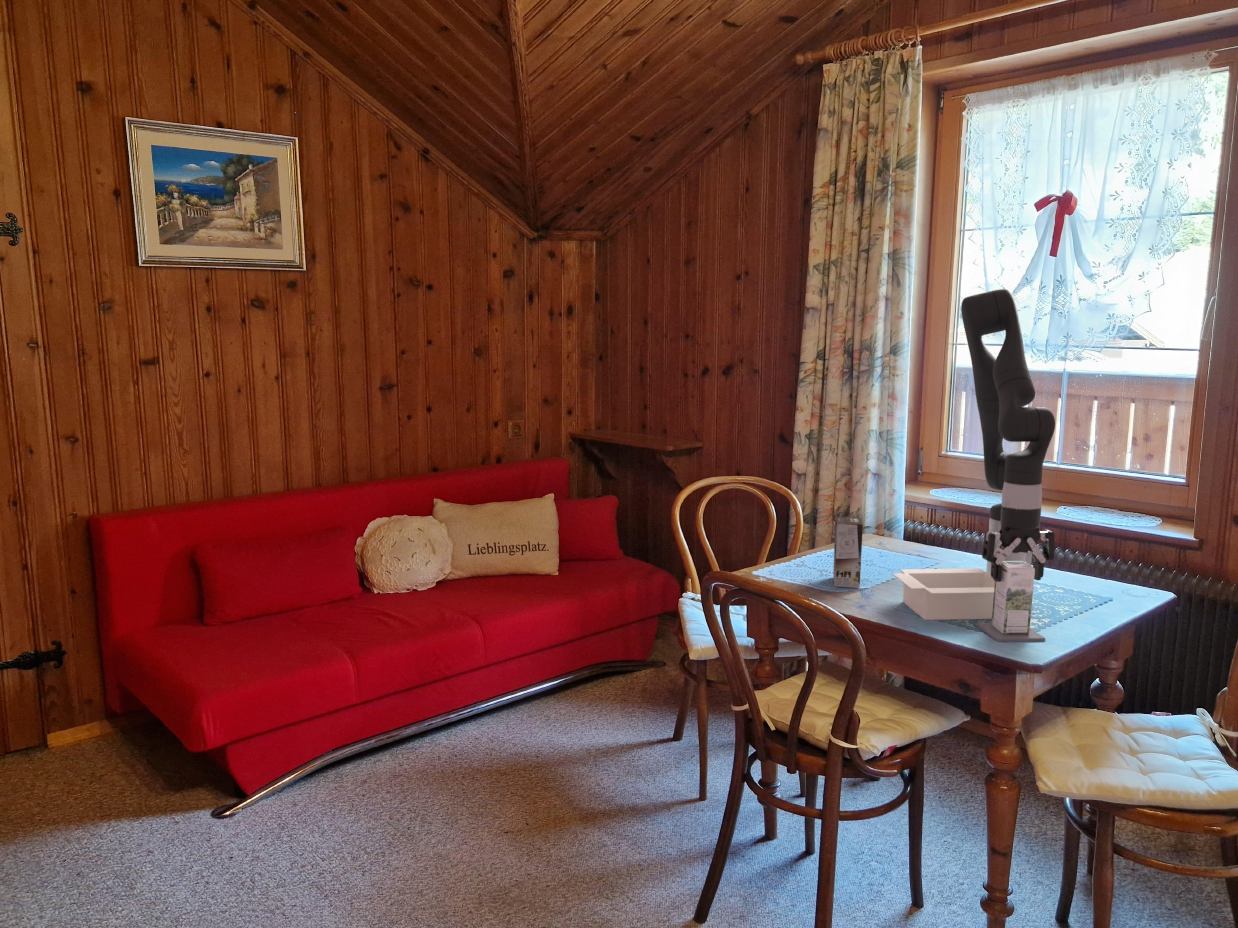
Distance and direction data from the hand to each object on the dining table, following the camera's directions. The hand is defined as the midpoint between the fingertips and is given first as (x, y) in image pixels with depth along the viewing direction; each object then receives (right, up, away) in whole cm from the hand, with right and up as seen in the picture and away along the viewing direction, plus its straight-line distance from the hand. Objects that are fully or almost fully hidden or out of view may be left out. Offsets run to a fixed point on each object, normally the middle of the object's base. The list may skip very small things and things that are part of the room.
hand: (1016, 580), depth 190 cm
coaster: (-1, -11, +2) cm, 12 cm away
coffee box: (-26, -6, +39) cm, 47 cm away
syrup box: (-1, -11, +2) cm, 11 cm away
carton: (-7, -9, +17) cm, 21 cm away
